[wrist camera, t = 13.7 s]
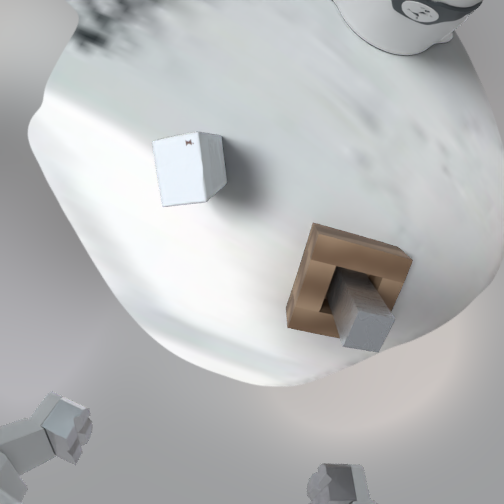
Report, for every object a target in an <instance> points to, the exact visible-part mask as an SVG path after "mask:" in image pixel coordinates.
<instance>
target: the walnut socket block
mask: <svg viewBox="0 0 504 504" xmlns="http://www.w3.org/2000/svg"><path fill="white" fill-rule="evenodd" d="M412 261H413V260H412V259H411V258H410V257H409V256H407V255H406V254H405V253H404V252H403V251H402V250H401V249H400V248H398V247H396V246H393V245H390V244H386V243H383V242H380V241H376V240H373V239H369V238H366V237H362V236H359V235H356V234H352V233H349V232H345V231H341V230H338V229H334V228H331V227H327V226H323V225H320V224H316V223H313V224H312V227H311V231H310V234H309V237H308V241H307V244H306V247H305V250H304V254H303V257H302V260H301V263H300V266H299V269H298V273H297V276H296V279H295V282H294V285H293V288H292V291H291V294H290V297H289V300H288V303H287V306H286V314H287V327H288V328H291V329H296V330H301V331H306V332H310V333H315V334H320V335H325V336H331V337H336V338H340V336H339V333H338V330H337V327H336V324H335V321H334V318H333V315H332V312H331V309H330V306H329V303H328V300H327V297H326V293H327V290H328V287H329V285H330V282H331V279H332V276H333V274H334V271H335V268H336V266H338V267H342V268H346V269H350V270H354V271H358V272H362V273H365V274H366V275H367V277H368V278H369V280H370V281H371V283H372V284H373V286H374V287H375V289H376V290H377V292H378V293H379V295H380V296H381V298H382V299H383V301H384V302H385V304H386V305H387V307H388V308H389V310H390V311H392V309H393V306H394V304H395V302H396V300H397V297H398V295H399V293H400V290H401V288H402V286H403V283H404V281H405V279H406V276H407V274H408V271H409V269H410V266H411V264H412Z"/></svg>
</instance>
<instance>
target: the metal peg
mask: <svg viewBox="0 0 504 504" xmlns="http://www.w3.org/2000/svg"><path fill="white" fill-rule="evenodd" d="M326 297H327V300H328V303H329V306H330V309H331V312H332V315H333V318H334V321H335V324H336V327H337V330H338V333H339V336H340V339H341V342H342V346H343V347H349V348H355V349H361V350H367V351H373V352H379V350H380V348H381V346H382V344H383V342H384V340H385V339H386V337H387V335H388V333H389V331H390V328H391V326H392V324H393V322H394V320H395V318H394V316H393V315H392V313H391V311H390V310H389V308H388V307H387V305H386V304H385V302H384V301H383V299H382V298H381V296H380V295H379V293H378V292H377V290H376V289H375V287H374V286H373V284H372V283H371V281H370V280H369V278H368V277H367V275H366V274H365V273H362V272H358V271H354V270H350V269H346V268H342V267H338V266H336V268H335V271H334V274H333V276H332V279H331V282H330V285H329V287H328V290H327V293H326Z"/></svg>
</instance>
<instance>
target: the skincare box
mask: <svg viewBox="0 0 504 504" xmlns="http://www.w3.org/2000/svg"><path fill="white" fill-rule="evenodd" d="M152 144H153V152H154V159H155V166H156V172H157V178H158V183H159V189H160V195H161V201H162V207H168V206H177V205H186V204H195V203H204V202H207V201H208V200H209V199H210V198H211V197H212V196H213V195H214V194H216V193H217V192H218V191H219V190H220V189H221V188H223V187H224V186H225V185H226V184H227V177H226V169H225V161H224V153H223V145H222V137H221V135H216V134H210V133H204V132H198V131H196V132H191V133H186V134H181V135H176V136H171V137H166V138H162V139H157V140H154V141H152Z"/></svg>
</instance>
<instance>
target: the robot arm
mask: <svg viewBox="0 0 504 504" xmlns="http://www.w3.org/2000/svg"><path fill="white" fill-rule="evenodd" d="M333 1H334V2H335V4H336V5H337V7H338V9H339V11H340V13H341V15H342V16H343V18H344V20H345V21H346V22H347V24H348V25H349V26H350V27H351V29H352V30H353V31H354V32H355V33H357V34H358V35H359V36H360V37H361V38H362V39H364V40H365V41H367V42H368V43H370V44H371V45H373V46H375V47H377V48H379V49H381V50H384V51H386V52H390V53H393V54H399V55H413V54H418V53H421V52H423V51H425V50H426V49H428V48H429V47H430V46H432V45H433V44H435V43H445V42H448V41H450V40H451V39H452V38H453V31H454V30H455V29H456V28H457V27H459V26H460V25H461V24H463V23H464V22H465V21H466V20H467V19H468V15H470V14H471V13H472V12H474V10H476V9H477V8H478V7H479V6H480V5H481V3H482V1H483V0H333ZM89 416H90V410H89V408H87V407H85V406H83V405H80V404H78V403H76V402H74V401H72V400H70V399H67V398H65V397H64V396H62V395H60V394H57V393H55V392H53V391H51V392H50V393H48V395H47V396H46V397H45V398H44V400H43V401H42V402H41V404H40V405H39V406H38V408H37V409H36V410H35V412H34V413H33V414H32V416H31V417H30V418H29V420H28V419H27V418H24V419H21V420H18V421H15V422H12V423H9V424H6V425H3V426H1V427H0V504H23V503H22V502H21V501H22V499H23V497H24V495H25V494H26V492H27V490H28V488H27V485H26V484H25V483H24V482H23V480H22V479H21V478H20V475H22V474H24V473H25V472H28V471H30V470H32V469H33V468H35V467H37V466H39V465H41V464H43V463H45V462H47V461H49V460H51V459H52V458H54V457H55V456H58V457H60V458H62V459H64V460H66V461H68V462H70V463H72V464H75V465H76V463H77V462H78V460H79V458H80V456H81V454H82V448H81V446H82V445H84V444H87V442H88V441H89V439H90V436H91V433H92V421H91V420H90V419H89V418H88V417H89ZM307 496H308V497H309V498H310V499H311V502H310V503H309V504H377V503H376V502H375V501H374V500H370V495H369V490H368V486H367V481H366V476H365V472H364V467H363V466H362V465H352V464H349V465H348V464H321V465H320V466H319V467H318V472H316V473H314V474H313V475H312V476H311V478H309V482H308V485H307Z"/></svg>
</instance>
